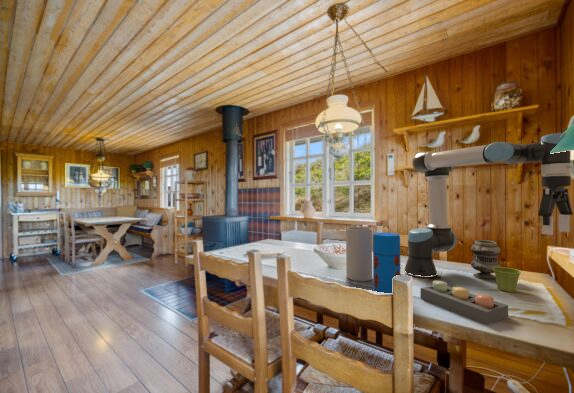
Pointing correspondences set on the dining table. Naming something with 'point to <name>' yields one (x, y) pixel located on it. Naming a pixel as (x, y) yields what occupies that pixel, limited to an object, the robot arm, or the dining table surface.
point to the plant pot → (506, 278)
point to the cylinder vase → (359, 253)
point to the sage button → (440, 286)
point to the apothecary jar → (485, 258)
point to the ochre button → (460, 293)
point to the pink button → (484, 301)
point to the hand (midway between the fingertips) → (556, 233)
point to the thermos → (385, 260)
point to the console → (465, 305)
